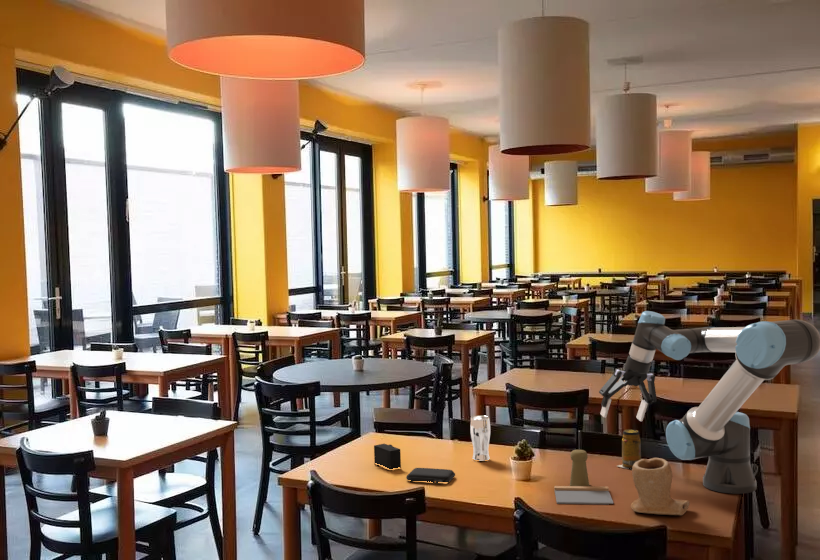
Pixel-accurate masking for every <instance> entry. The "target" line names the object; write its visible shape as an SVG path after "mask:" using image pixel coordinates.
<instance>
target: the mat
mask: <svg viewBox="0 0 820 560" xmlns="http://www.w3.org/2000/svg"><path fill="white" fill-rule="evenodd" d="M553 488H554V489H553V490H554V491H553V492H554V495H555V501H556V504H557V505H609V504H614V500H613V498H612V496H611V493H610V491H609V486H608V485H607V486H604V485H603V486H600V485H599V486H598V485H597V486H595V485H594V486H593V485H589V486H570V485H567V486H566V485H554V487H553Z"/></svg>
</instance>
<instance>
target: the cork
mask: <svg viewBox="0 0 820 560" xmlns="http://www.w3.org/2000/svg"><path fill="white" fill-rule="evenodd" d="M588 456H589V455H588V453H587V451H586V450H584V449H574V450H572V451H571V452H570V460H571V461H572V462H571V470H570V480H569V486H590V481H589V480H590V479H589V474H588V467H587V460H588V458H589V457H588Z"/></svg>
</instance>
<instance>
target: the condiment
mask: <svg viewBox="0 0 820 560" xmlns="http://www.w3.org/2000/svg"><path fill="white" fill-rule="evenodd" d="M622 434H623V435H622V439H621V460H622V461H621V463H622V464H618V465H617V467H619V468H623V469H629V468H630V469H629V470H632V467H633V465H634V463H635V462H637V461H639V460H641V459H642V452H641V451H642V450H641V449H642V448H641V447H642V446H641V445H642V444H641V443H642V442H641V439H640V431H639V430H637V429H624V430H623V431H622Z"/></svg>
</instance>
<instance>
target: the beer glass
mask: <svg viewBox="0 0 820 560" xmlns="http://www.w3.org/2000/svg"><path fill="white" fill-rule="evenodd" d="M470 439H471V443H472V448H473V450H472V451H473V452H472V453H473V454H472V459H474V460H479V461H485V460H489V459H490V458H491V457H490V452H489V445H490V441H491V440H490V439H491V422H490V416H488V415H474V416H473V415H472V416H471V417H470ZM489 461H490V460H489Z"/></svg>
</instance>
